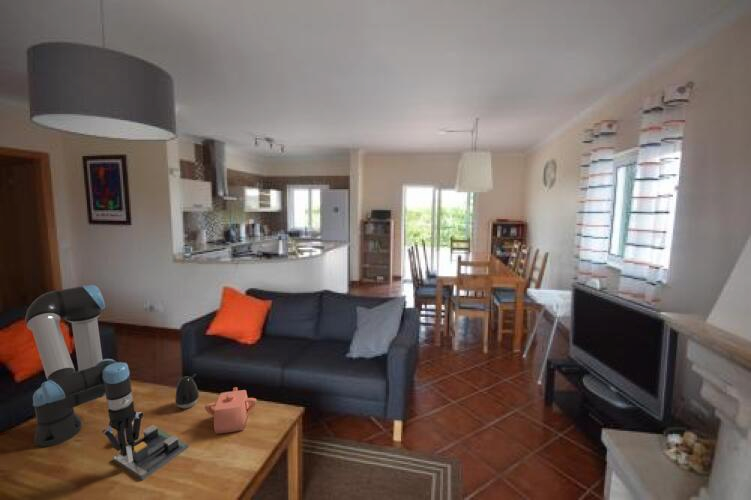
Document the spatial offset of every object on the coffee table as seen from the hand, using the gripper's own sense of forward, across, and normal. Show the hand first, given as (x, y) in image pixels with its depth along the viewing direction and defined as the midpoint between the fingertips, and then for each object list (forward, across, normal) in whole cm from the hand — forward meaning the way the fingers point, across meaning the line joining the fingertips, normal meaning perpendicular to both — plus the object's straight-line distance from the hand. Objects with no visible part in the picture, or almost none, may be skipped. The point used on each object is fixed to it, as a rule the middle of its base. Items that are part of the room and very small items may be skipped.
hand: (129, 460), depth 128 cm
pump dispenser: (+4, +35, +17) cm, 39 cm away
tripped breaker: (+2, +4, 0) cm, 4 cm away
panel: (+3, +8, 0) cm, 9 cm away
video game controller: (+4, +8, +20) cm, 22 cm away
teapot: (+4, +38, -12) cm, 40 cm away
